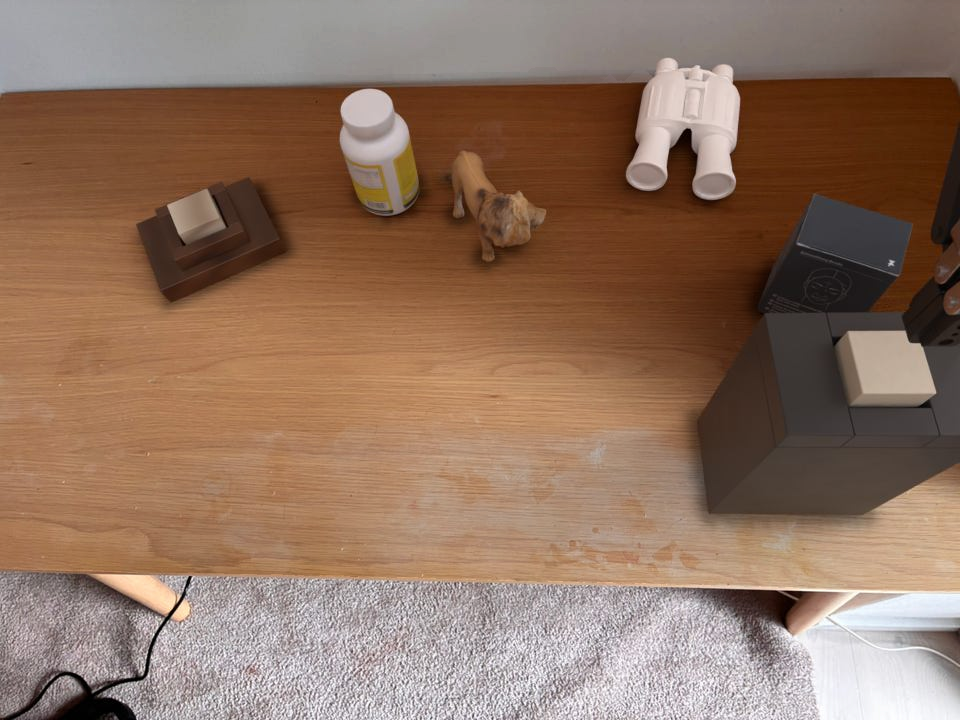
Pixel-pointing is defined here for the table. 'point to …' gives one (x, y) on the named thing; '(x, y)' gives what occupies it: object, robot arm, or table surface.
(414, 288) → the table surface
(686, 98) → the binoculars
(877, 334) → the key near
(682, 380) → the table surface
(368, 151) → the pill bottle
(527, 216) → the lion figurine
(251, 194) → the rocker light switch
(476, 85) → the table surface
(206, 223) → the key far
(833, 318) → the dark block with slot
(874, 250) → the box
